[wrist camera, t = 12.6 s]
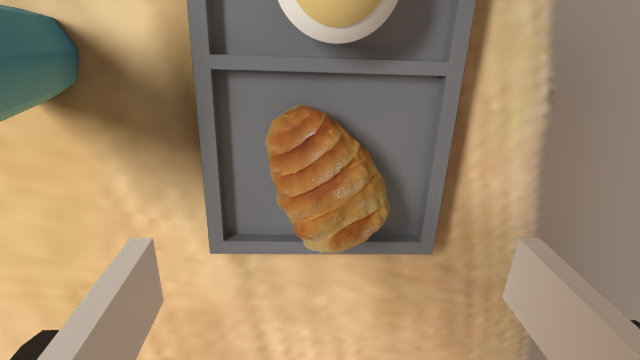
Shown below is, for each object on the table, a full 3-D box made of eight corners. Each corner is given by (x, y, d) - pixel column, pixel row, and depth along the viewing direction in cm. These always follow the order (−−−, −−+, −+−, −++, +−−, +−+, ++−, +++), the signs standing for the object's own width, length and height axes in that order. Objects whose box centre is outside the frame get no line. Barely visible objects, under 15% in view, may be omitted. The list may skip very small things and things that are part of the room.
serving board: (216, 237, 28) (200, 277, 24) (187, -117, 20) (153, -159, 16) (423, 238, 29) (445, 277, 25) (477, -101, 21) (525, -136, 16)
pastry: (238, 135, 24) (233, 147, 20) (331, 82, 23) (343, 84, 20) (310, 249, 26) (317, 277, 23) (392, 202, 26) (413, 223, 23)
